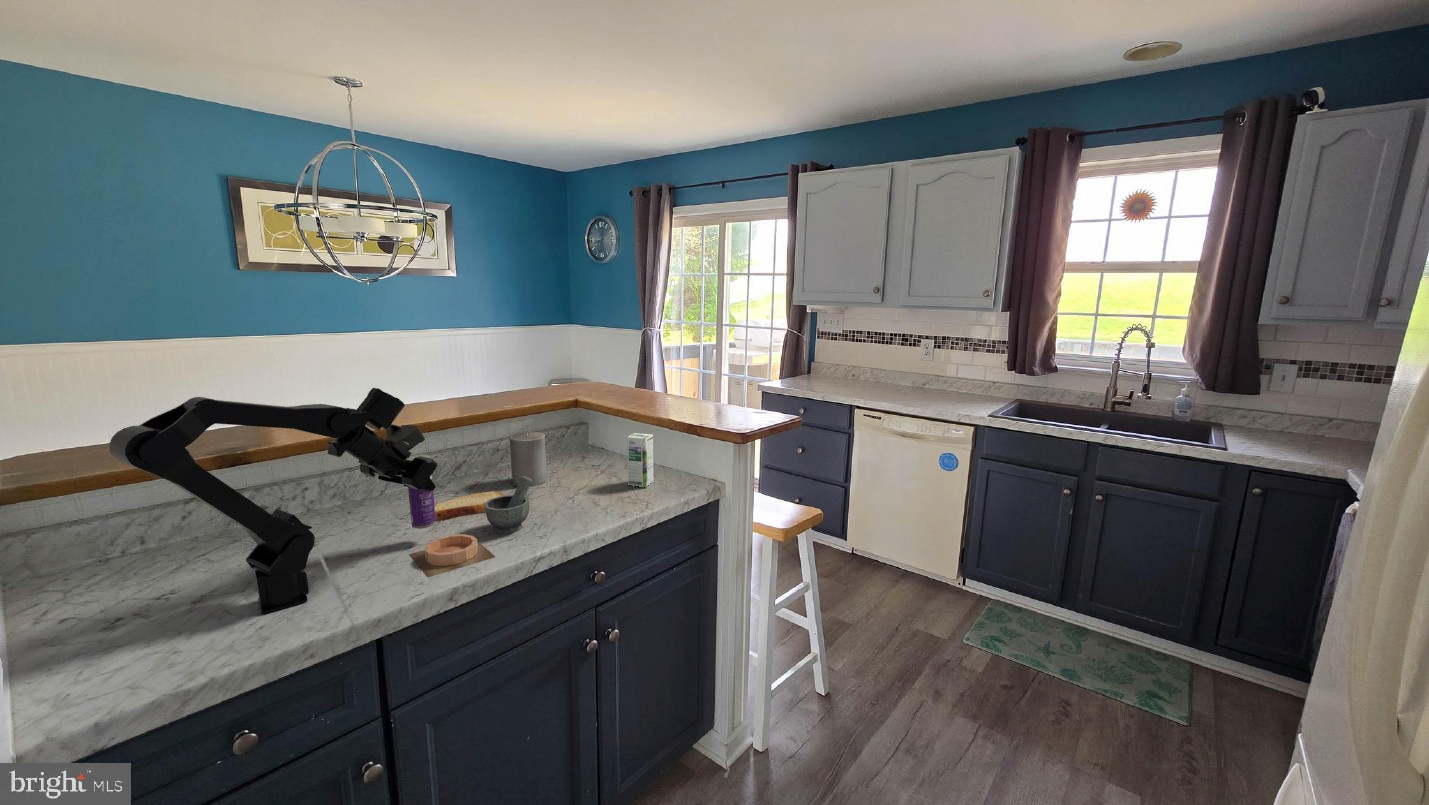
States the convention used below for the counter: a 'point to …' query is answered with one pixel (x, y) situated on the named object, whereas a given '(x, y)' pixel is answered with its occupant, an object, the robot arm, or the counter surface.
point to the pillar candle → (528, 457)
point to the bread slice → (464, 505)
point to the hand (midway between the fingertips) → (426, 486)
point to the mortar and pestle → (509, 509)
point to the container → (421, 504)
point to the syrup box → (640, 459)
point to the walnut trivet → (435, 570)
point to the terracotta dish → (451, 550)
